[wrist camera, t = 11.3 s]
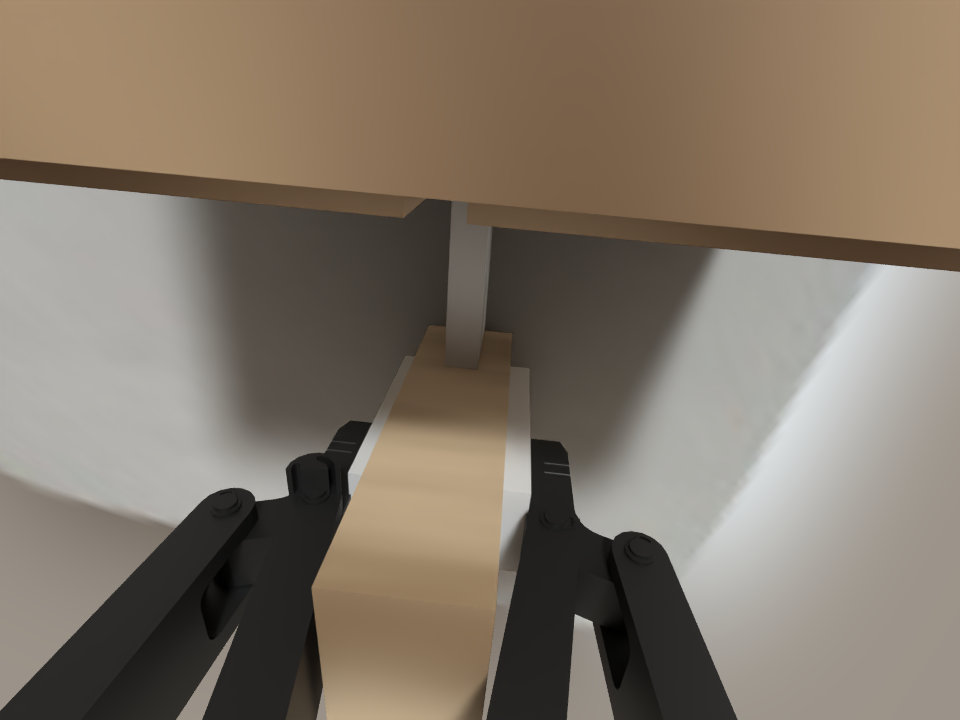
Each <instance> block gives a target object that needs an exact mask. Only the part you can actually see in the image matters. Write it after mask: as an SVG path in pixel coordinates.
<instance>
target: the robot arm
mask: <svg viewBox="0 0 960 720" xmlns="http://www.w3.org/2000/svg"><path fill="white" fill-rule="evenodd" d="M413 360H414V357H413V356H405V357H404V359H403V361H402V363H401V365H400V367H399V369H398V371H397V373H396V375H395V378H394V380H393V382H392V384H391V386H390V388H389V390H388V392H387V394H386V396H385V398H384V400H383V402H382V404H381V406H380V408H379V410H378V412H377V414H376V417H375V419H374V421H373V423H368V422H359V421H349V422H348V423H347V424H345V425H344V426H342V427H341V428H340V429H339V430H338V431H337V433H336V435H335V436H334V438H333V440H332V442H331V443H330V445H329V447H328V449H327V451H326V452H325V453H311V454H306V455H303V456H300V457H298V458H296V459H295V460H293V461H292V462H290V464H289V465H288V466H287V468H286V475H287V483H288V490H289V496H286V497H284V498H279V499H273V500H265V501H257V502H255V497H254V495H253V494H252V493H251V492H250V491H248V490H245V489H242V488H229V489H224V490H220V491H218V492H216V493H213V494H211V495H209V496H208V497H207V498H205V499H204V500H203V501H202V502H201V503H200V504H199V505H198V506H197V507H196V508H195V509H194V510H193V511H192V512H191V513H190V514H189V515H188V516H187V517H186V518H185V519H184V520H183V521H182V522H181V523H180V524H179V525H178V526H177V528H176V529H175V530H174V531H173V532H172V533H171V534H170V535H169V536H168V537H167V538H166V539H165V540H164V541H163V542H162V543H161V544H160V545H159V546H158V547H157V548H156V550H154V552H153V553H152V554H151V555H150V556H149V557H148V558H147V559H146V560H145V561H144V562H143V563H142V564H141V565H140V566H139V567H138V568H137V569H136V570H135V571H134V572H133V573H132V574H131V575H130V577H129V578H128V579H127V580H126V581H125V582H124V583H123V584H122V585H121V586H120V587H119V588H118V589H117V590H116V591H115V592H114V593H113V594H112V595H111V596H110V597H109V598H108V599H107V600H106V601H105V602H104V604H103V605H102V606H101V607H100V608H99V609H98V610H97V611H96V612H95V613H94V614H93V615H92V616H91V617H90V618H89V619H88V620H87V621H86V622H85V623H84V624H83V625H82V626H81V628H80V629H79V630H78V631H77V632H76V633H75V634H74V635H73V636H72V637H71V638H70V639H69V640H68V641H67V642H66V643H65V644H64V645H63V646H62V647H61V648H60V649H59V650H58V651H57V652H56V653H55V655H54V656H53V657H52V658H51V659H50V660H49V661H48V662H47V663H46V664H45V665H44V666H43V667H42V668H41V669H40V670H39V671H38V672H37V673H36V674H35V675H34V676H33V677H32V679H31V680H30V681H29V682H28V683H27V684H26V685H25V686H24V687H23V688H22V689H21V690H20V691H19V692H18V693H17V694H16V695H15V696H14V697H13V698H12V699H11V700H10V701H9V702H8V703H7V705H6V706H5V707H4V708H3V709H2V710H1V711H0V720H176V718H177V717H178V716H179V714H180V713H181V711H182V710H183V708H184V707H185V705H186V704H187V702H188V701H189V699H190V698H191V696H192V694H193V693H194V691H195V690H196V688H197V687H198V685H199V684H200V682H201V681H202V679H203V678H204V676H205V675H206V673H207V672H208V670H209V669H210V667H211V666H212V664H213V662H214V661H215V659H216V658H217V656H218V655H219V653H220V652H221V650H222V649H223V647H224V646H225V644H226V643H227V641H228V640H229V638H230V637H231V635H232V634H233V632H234V631H235V629H236V628H237V626H238V624H239V626H238V628H237V631H236V634H235V636H234V639H233V641H232V644H231V647H230V649H229V652H228V654H227V657H226V660H225V663H224V665H223V667H222V670H221V673H220V675H219V678H218V680H217V683H216V686H215V688H214V691H213V693H212V696H211V698H210V701H209V704H208V706H207V709H206V711H205V714H204V717H203V719H202V720H316V718H317V713H318V708H319V703H320V698H321V693H322V688H323V680H322V672H321V663H320V655H319V647H318V638H317V630H316V622H315V613H314V605H313V596H312V588H311V587H312V585H313V583H314V581H315V578H316V576H317V574H318V572H319V569H320V567H321V565H322V563H323V561H324V558H325V556H326V554H327V552H328V549H329V547H330V545H331V543H332V540H333V538H334V536H335V534H336V532H337V529H338V527H339V525H340V523H341V520H342V518H343V516H344V514H345V511H346V509H347V507H348V505H349V502H350V500H351V498H352V496H353V494H354V491H355V489H356V487H357V485H358V482H359V480H360V478H361V476H362V473H363V471H364V469H365V467H366V465H367V462H368V460H369V458H370V456H371V453H372V451H373V449H374V447H375V444H376V442H377V440H378V438H379V435H380V433H381V431H382V429H383V427H384V424H385V422H386V420H387V418H388V415H389V413H390V411H391V409H392V406H393V404H394V402H395V400H396V397H397V395H398V393H399V391H400V389H401V386H402V384H403V382H404V380H405V377H406V375H407V373H408V371H409V368H410V366H411V364H412V362H413ZM499 570H507V571H516V572H517V575H516V580H515V585H514V589H513V594H512V599H511V604H510V609H509V613H508V618H507V623H506V628H505V633H504V638H503V642H502V647H501V652H500V656H499V661H498V666H497V671H496V676H495V681H494V685H493V690H492V695H491V700H490V705H489V709H488V715H487V719H486V720H567V709H568V708H567V707H568V695H569V682H570V669H571V655H572V642H573V629H574V616H575V614H576V615H579V616H581V617H583V618H585V619H588V620H590V621H592V622H593V626H594V631H595V635H596V639H597V644H598V649H599V653H600V657H601V662H602V666H603V671H604V675H605V680H606V684H607V689H608V693H609V697H610V702H611V706H612V711H613V715H614V720H737V717H736V715H735V713H734V711H733V708H732V706H731V703H730V701H729V698H728V696H727V694H726V691H725V689H724V687H723V684H722V682H721V680H720V677H719V675H718V673H717V670H716V668H715V666H714V663H713V661H712V659H711V656H710V654H709V651H708V649H707V647H706V644H705V642H704V640H703V637H702V635H701V633H700V630H699V628H698V625H697V623H696V621H695V618H694V616H693V614H692V611H691V609H690V606H689V604H688V602H687V600H686V597H685V595H684V592H683V590H682V588H681V585H680V583H679V580H678V578H677V576H676V573H675V571H674V569H673V566H672V564H671V562H670V559H669V557H668V554H667V553H666V551H665V550H664V548H663V547H662V545H661V544H659V543H658V542H657V541H656V540H655V539H653V538H652V537H649V536H647V535H645V534H643V533H638V532H633V531H631V532H622V533H621V534H619V535H617V536H615V538H614V540H612V539H609V538H606V537H604V536H601V535H599V534H596V533H594V532H592V531H591V530H589V529H588V528H586V527H585V526H584V525H583V524H582V523H581V522H580V519H579V518H578V516H577V515H576V514H575V510H574V503H573V494H572V486H571V478H570V469H569V461H568V453H567V451H566V450H565V449H564V447H563V446H562V445H561V443H560V442H556V441H547V440H537V439H530V368H522V367H512V366H511V367H510V383H509V400H508V417H507V434H506V451H505V468H504V485H503V502H502V519H501V536H500V553H499Z"/></svg>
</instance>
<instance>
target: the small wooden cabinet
mask: <svg viewBox="0 0 960 720" xmlns="http://www.w3.org/2000/svg"><path fill="white" fill-rule="evenodd" d="M0 179H4V180H15V181H25V182H35V183H46V184H56V185H66V186H77V187H87V188H97V189H108V190H118V191H129V192H139V193H149V194H160V195H170V196H180V197H191V198H201V199H211V200H222V201H232V202H243V203H253V204H263V205H274V206H284V207H294V208H305V209H315V210H325V211H336V212H346V213H356V214H367V215H377V216H388V217H398V218H404V217H405V216H406V215H408V214H409V213H410V212H411V211H412V210H413V209H415V208H416V207H417V206H418V205H419V204H420V203H422V202H423V201H424V200H425V199H426V198H429V199H440V200H450V201H461V202H468V207H467V222H466V224H470V225H481V226H491V227H502V228H512V229H522V230H533V231H543V232H553V233H564V234H574V235H584V236H595V237H605V238H616V239H626V240H636V241H647V242H657V243H667V244H678V245H688V246H698V247H709V248H719V249H729V250H740V251H750V252H761V253H771V254H781V255H792V256H802V257H812V258H823V259H833V260H843V261H854V262H864V263H875V264H885V265H896V266H906V267H916V268H927V269H937V270H948V271H958V272H960V0H0Z"/></svg>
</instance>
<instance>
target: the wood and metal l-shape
mask: <svg viewBox="0 0 960 720" xmlns="http://www.w3.org/2000/svg"><path fill="white" fill-rule="evenodd" d="M467 207H468V202H461V201H452V206H451V229H450V252H449V274H448V297H447V319H446V327H442V326H432V325H429V326H428V328H427V330H426V333H425V335H424V337H423V339H422V342H421V344H420V346H419V348H418V351H417V353H416V355H415V357H414V360H413V362H412V364H411V366H410V368H409V371H408V373H407V375H406V377H405V380H404V382H403V384H402V386H401V389H400V391H399V393H398V395H397V397H396V400H395V402H394V404H393V406H392V409H391V411H390V413H389V415H388V418H387V420H386V422H385V424H384V427H383V429H382V431H381V433H380V435H379V438H378V440H377V442H376V444H375V447H374V449H373V451H372V453H371V456H370V458H369V460H368V462H367V465H366V467H365V469H364V471H363V473H362V476H361V478H360V480H359V482H358V485H357V487H356V489H355V491H354V494H353V496H352V498H351V500H350V502H349V505H348V507H347V509H346V511H345V514H344V516H343V518H342V520H341V523H340V525H339V527H338V529H337V532H336V534H335V536H334V538H333V540H332V543H331V545H330V547H329V549H328V552H327V554H326V556H325V558H324V561H323V563H322V565H321V567H320V569H319V572H318V574H317V576H316V578H315V581H314V583H313V585H312V587H311V588H312V596H313V605H314V613H315V622H316V630H317V638H318V647H319V655H320V663H321V672H322V680H323V688H324V697H325V705H326V713H327V720H482V715H483V707H484V700H485V692H486V684H487V676H488V669H489V661H490V653H491V646H492V637H493V630H494V622H495V615H496V604H497V587H498V570H499V553H500V536H501V519H502V502H503V485H504V468H505V451H506V434H507V417H508V400H509V383H510V367H511V350H512V333H503V332H493V331H484V330H485V318H486V306H487V294H488V282H489V269H490V257H491V245H492V233H493V227H491V226H481V225H470V224H466V222H467Z"/></svg>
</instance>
